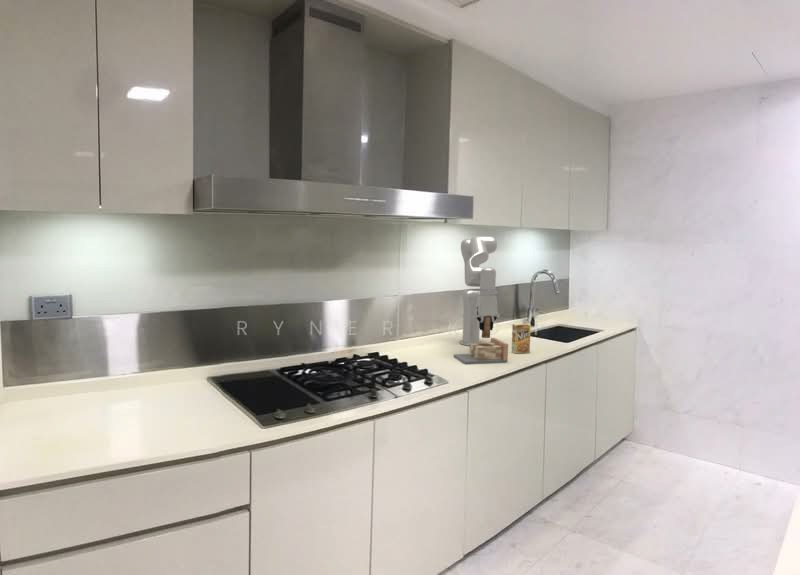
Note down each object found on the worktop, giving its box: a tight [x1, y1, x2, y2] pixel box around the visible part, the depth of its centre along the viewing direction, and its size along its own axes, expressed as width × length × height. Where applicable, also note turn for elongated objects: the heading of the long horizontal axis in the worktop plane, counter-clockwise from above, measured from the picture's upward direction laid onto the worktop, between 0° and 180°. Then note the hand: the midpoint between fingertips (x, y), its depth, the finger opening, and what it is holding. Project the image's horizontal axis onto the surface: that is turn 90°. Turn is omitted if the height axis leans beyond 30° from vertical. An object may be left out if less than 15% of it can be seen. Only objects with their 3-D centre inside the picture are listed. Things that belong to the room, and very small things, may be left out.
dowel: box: [481, 315, 491, 339], centre depth 249 cm, size 4×4×12 cm
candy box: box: [511, 323, 531, 354], centre depth 268 cm, size 9×4×15 cm, turn 107°
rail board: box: [453, 337, 509, 365], centre depth 250 cm, size 16×22×9 cm
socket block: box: [468, 341, 502, 360], centre depth 250 cm, size 12×12×6 cm
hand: (486, 329), depth 249 cm, fingers closed on dowel, 4 cm apart
